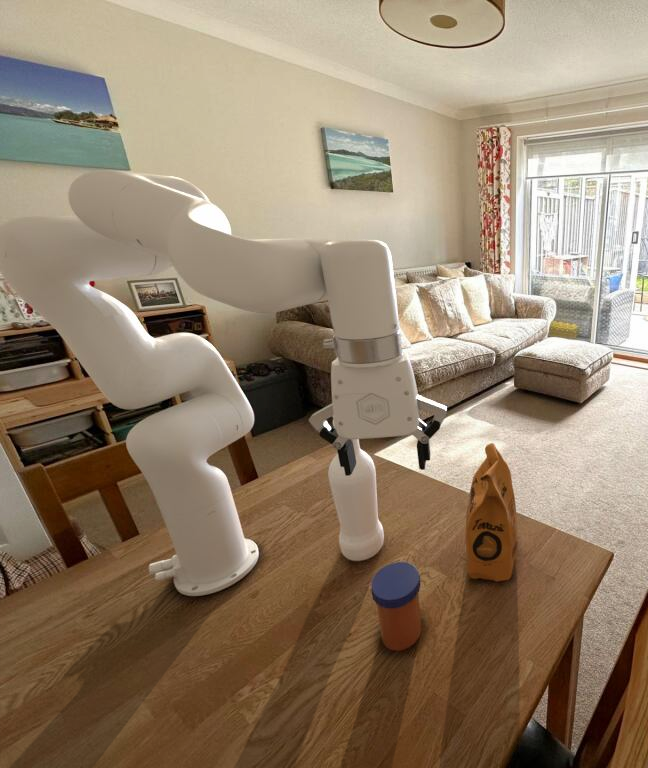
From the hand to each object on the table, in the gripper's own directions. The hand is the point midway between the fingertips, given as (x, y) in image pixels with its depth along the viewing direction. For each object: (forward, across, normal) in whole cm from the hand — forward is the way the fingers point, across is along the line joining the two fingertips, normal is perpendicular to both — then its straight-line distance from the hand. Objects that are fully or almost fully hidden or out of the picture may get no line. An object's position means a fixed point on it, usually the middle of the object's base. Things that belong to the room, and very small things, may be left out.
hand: (387, 467), depth 55 cm
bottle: (+28, -11, +16) cm, 34 cm away
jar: (+28, -1, -3) cm, 28 cm away
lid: (+18, 0, -3) cm, 18 cm away
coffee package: (+29, +14, +11) cm, 34 cm away
